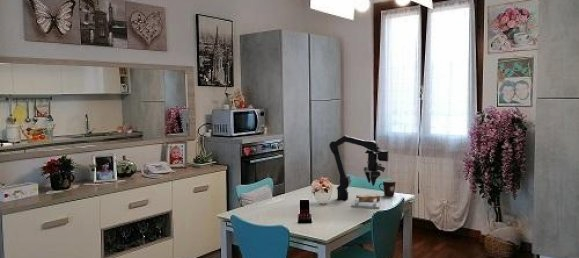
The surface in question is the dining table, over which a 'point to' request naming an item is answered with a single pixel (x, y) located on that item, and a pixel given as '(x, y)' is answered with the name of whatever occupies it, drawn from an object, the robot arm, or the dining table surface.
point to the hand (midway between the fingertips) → (371, 184)
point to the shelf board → (368, 197)
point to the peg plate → (366, 204)
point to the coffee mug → (388, 187)
